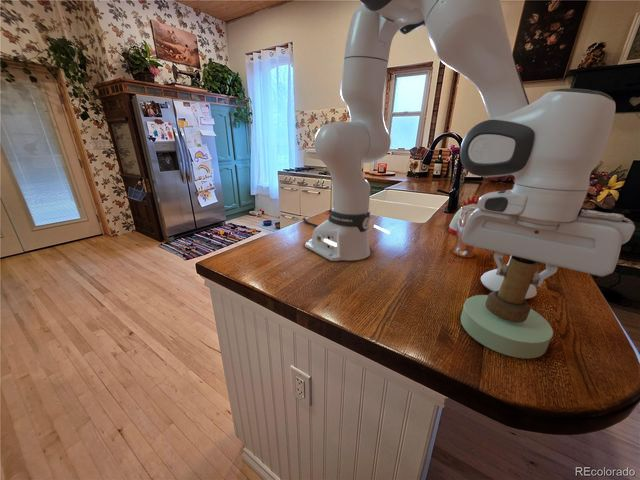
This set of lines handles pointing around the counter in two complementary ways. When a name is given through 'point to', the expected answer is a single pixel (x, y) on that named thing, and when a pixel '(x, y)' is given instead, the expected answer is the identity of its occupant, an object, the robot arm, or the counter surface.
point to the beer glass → (460, 247)
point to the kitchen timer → (455, 219)
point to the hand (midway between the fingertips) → (517, 279)
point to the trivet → (506, 330)
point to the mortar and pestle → (513, 291)
